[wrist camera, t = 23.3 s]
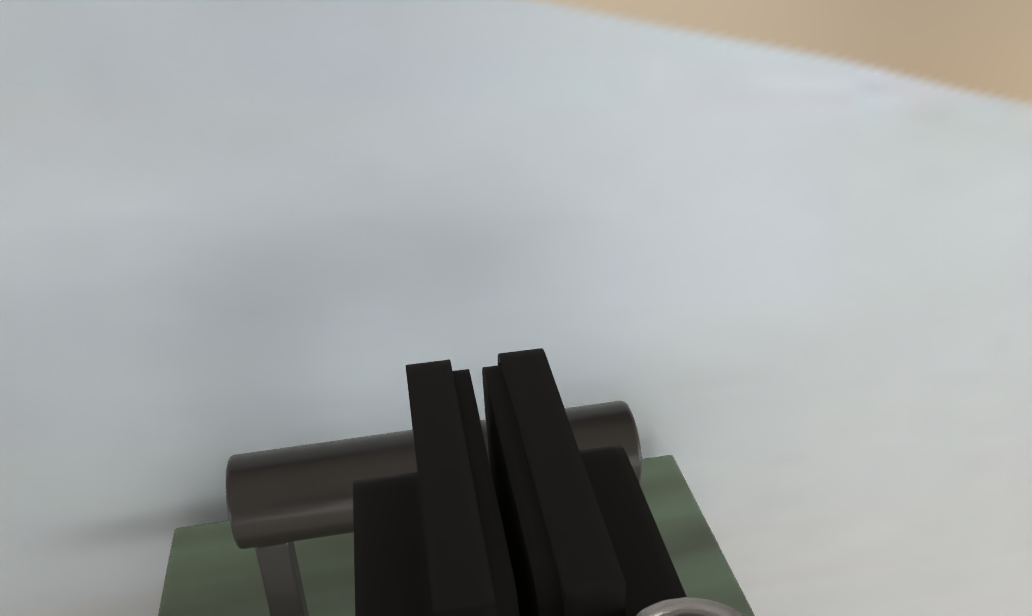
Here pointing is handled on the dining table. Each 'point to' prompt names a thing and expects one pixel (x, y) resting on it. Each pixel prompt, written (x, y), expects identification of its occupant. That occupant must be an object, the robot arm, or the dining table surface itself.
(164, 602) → the drawer
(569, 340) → the dining table surface
